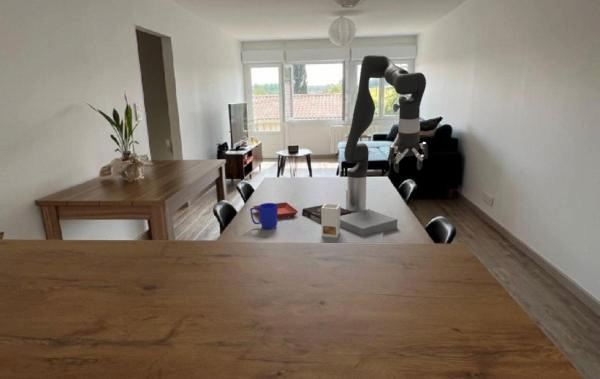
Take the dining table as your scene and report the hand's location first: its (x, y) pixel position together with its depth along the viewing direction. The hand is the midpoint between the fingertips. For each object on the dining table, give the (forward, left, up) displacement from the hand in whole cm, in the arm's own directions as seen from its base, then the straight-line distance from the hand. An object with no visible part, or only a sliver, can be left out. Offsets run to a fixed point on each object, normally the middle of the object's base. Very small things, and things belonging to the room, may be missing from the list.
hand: (407, 170), depth 144 cm
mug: (-44, -40, -28) cm, 66 cm away
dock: (-18, -4, -28) cm, 33 cm away
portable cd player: (-39, -10, -28) cm, 50 cm away
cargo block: (-18, -23, -27) cm, 40 cm away
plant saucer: (-58, -27, -28) cm, 70 cm away
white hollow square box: (-18, -23, -28) cm, 40 cm away
